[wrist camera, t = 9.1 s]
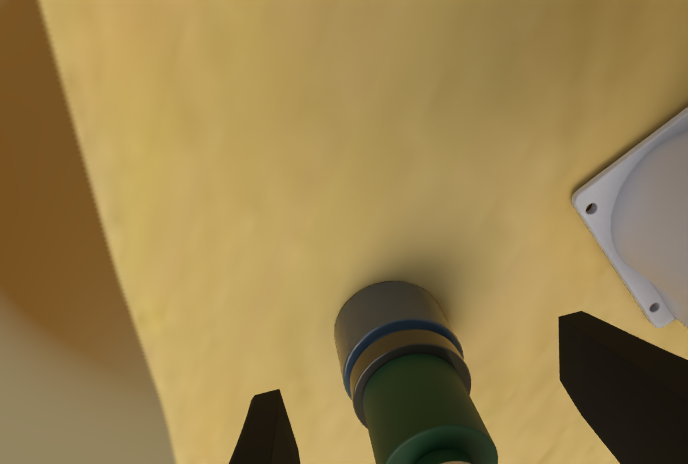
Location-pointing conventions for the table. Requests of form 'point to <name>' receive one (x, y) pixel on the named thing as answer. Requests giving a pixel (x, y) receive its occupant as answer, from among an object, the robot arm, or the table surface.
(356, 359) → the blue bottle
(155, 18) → the table surface
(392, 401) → the green bottle
